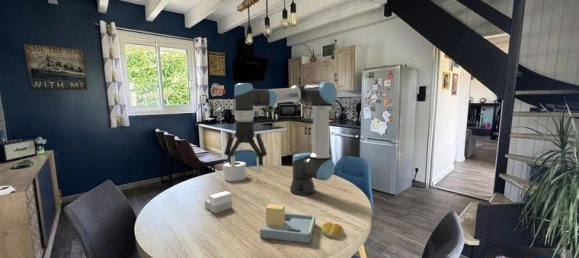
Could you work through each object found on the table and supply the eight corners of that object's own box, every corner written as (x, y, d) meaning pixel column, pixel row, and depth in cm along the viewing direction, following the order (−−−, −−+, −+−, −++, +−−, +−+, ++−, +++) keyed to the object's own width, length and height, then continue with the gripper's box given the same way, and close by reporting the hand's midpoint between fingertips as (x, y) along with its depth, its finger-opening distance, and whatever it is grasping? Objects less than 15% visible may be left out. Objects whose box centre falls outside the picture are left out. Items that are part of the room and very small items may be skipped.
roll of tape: (228, 174, 184) (228, 161, 183) (248, 175, 183) (248, 161, 181) (220, 181, 169) (220, 166, 168) (242, 181, 167) (242, 166, 166)
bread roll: (325, 226, 106) (325, 217, 105) (345, 232, 101) (345, 222, 100) (317, 234, 99) (317, 225, 98) (338, 241, 94) (338, 231, 93)
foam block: (222, 203, 133) (221, 188, 132) (232, 208, 125) (231, 193, 125) (205, 208, 126) (204, 193, 125) (214, 214, 119) (214, 198, 118)
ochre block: (266, 224, 102) (265, 207, 101) (269, 220, 106) (268, 203, 105) (282, 226, 100) (282, 209, 99) (284, 222, 104) (284, 205, 103)
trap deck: (260, 238, 96) (260, 227, 96) (272, 219, 112) (271, 210, 111) (310, 244, 92) (310, 232, 91) (315, 223, 107) (315, 214, 107)
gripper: (214, 121, 101) (216, 172, 103) (268, 121, 96) (269, 175, 98) (223, 120, 108) (225, 168, 111) (273, 120, 103) (274, 170, 105)
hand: (245, 171), depth 104 cm, fingers open, 11 cm apart
